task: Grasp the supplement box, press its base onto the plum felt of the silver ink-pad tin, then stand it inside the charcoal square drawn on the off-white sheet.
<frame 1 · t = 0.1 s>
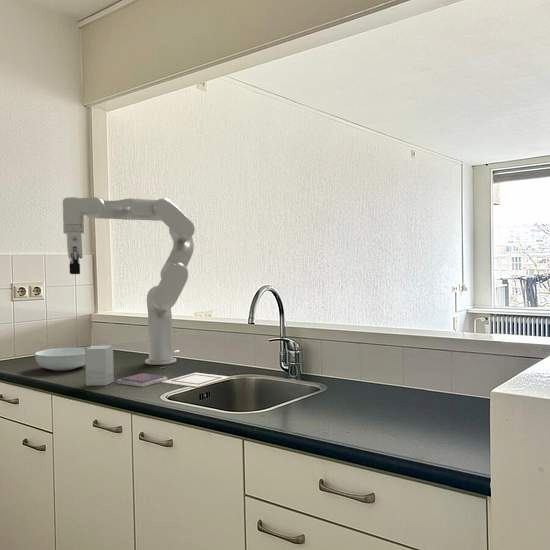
hand: (74, 273, 221), 37 cm above the countertop, tool pointing down, fingers open, 9 cm apart
print sheet: (196, 380, 199), on the countertop
serving bowl: (64, 369, 225), on the countertop
ink pad: (142, 381, 198), on the countertop
supplement box: (100, 384, 196), on the countertop
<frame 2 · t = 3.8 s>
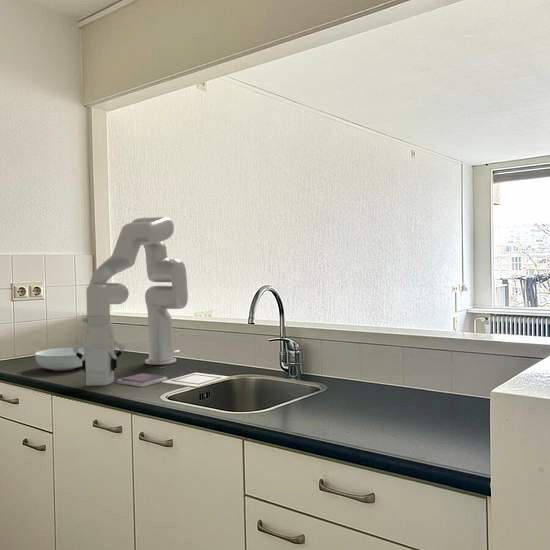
hand: (99, 370, 196), 4 cm above the countertop, tool pointing down, fingers closed on supplement box, 8 cm apart
supplement box: (100, 384, 196), on the countertop, touching gripper
everything else where it was.
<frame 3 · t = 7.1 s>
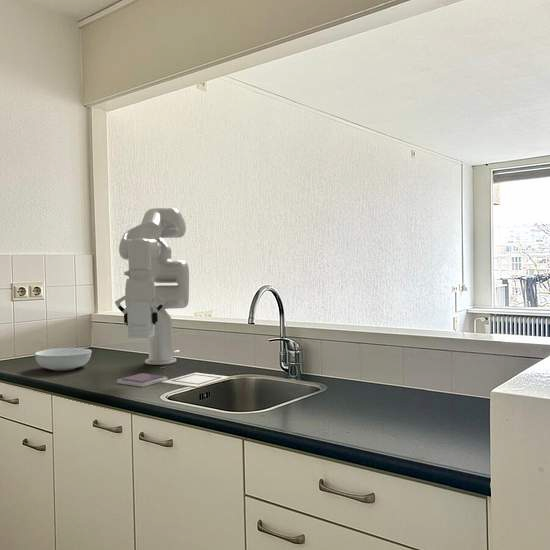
hand: (141, 324, 197), 20 cm above the countertop, tool pointing down, fingers closed on supplement box, 8 cm apart
supplement box: (141, 337, 197), point 15 cm above the countertop, touching gripper
everything else where it was.
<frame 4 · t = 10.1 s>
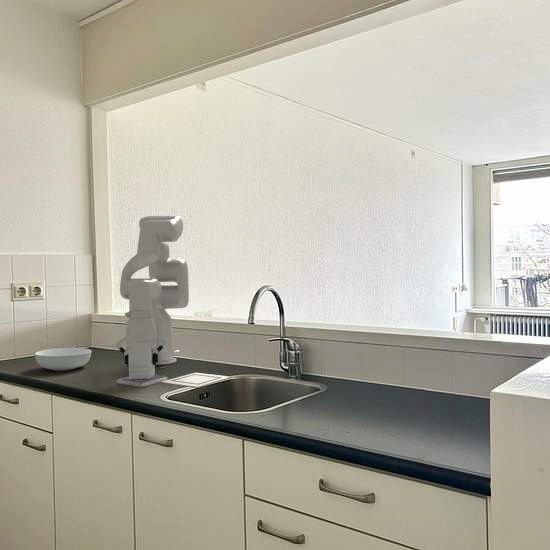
hand: (141, 365, 197), 6 cm above the countertop, tool pointing down, fingers closed on supplement box, 8 cm apart
supplement box: (142, 377, 197), point 1 cm above the countertop, touching gripper, ink pad
everything else where it was.
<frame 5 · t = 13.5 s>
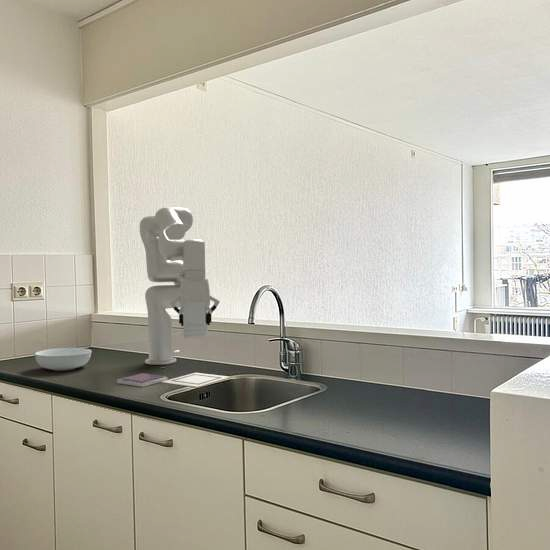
hand: (195, 325, 198), 19 cm above the countertop, tool pointing down, fingers closed on supplement box, 8 cm apart
supplement box: (195, 337, 198), point 15 cm above the countertop, touching gripper
everything else where it was.
when the fingers open (6 cm above the countertop, at t = 16.5 s): supplement box drops 1 cm, resting on print sheet.
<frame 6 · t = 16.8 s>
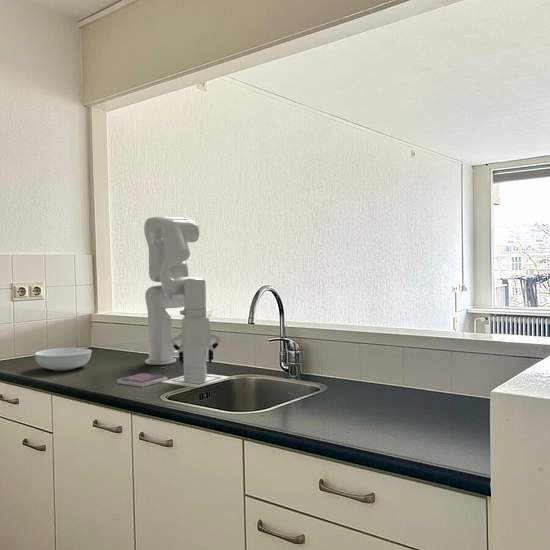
hand: (196, 362, 199), 6 cm above the countertop, tool pointing down, fingers open, 9 cm apart
supplement box: (195, 379, 199), resting on print sheet
everything else where it was.
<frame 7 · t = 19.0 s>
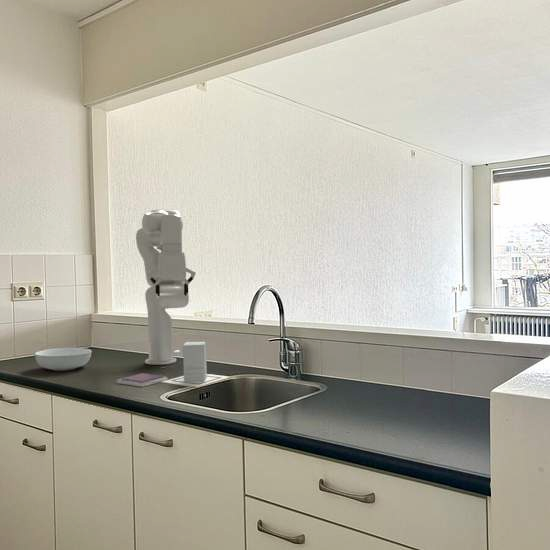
hand: (172, 295, 209), 29 cm above the countertop, tool pointing down, fingers open, 9 cm apart
nothing on the countertop moved.
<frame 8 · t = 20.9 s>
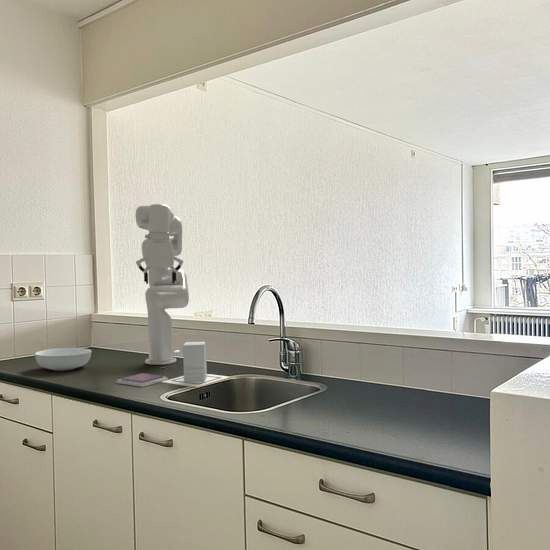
hand: (160, 283, 213), 33 cm above the countertop, tool pointing down, fingers open, 9 cm apart
nothing on the countertop moved.
at the end: supplement box 0.4 cm off-centre on the print sheet, point 0.1 cm above the print sheet's base; supplement box tilted 0°; the gripper is holding nothing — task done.
